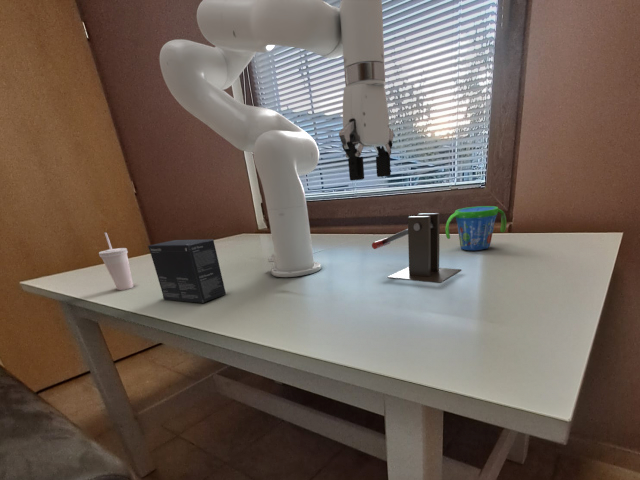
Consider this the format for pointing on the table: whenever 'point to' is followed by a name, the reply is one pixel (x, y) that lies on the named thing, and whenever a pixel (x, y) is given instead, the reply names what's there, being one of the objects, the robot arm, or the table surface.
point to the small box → (188, 270)
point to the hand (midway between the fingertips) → (370, 178)
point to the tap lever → (392, 238)
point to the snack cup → (476, 226)
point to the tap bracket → (424, 251)
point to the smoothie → (117, 266)
